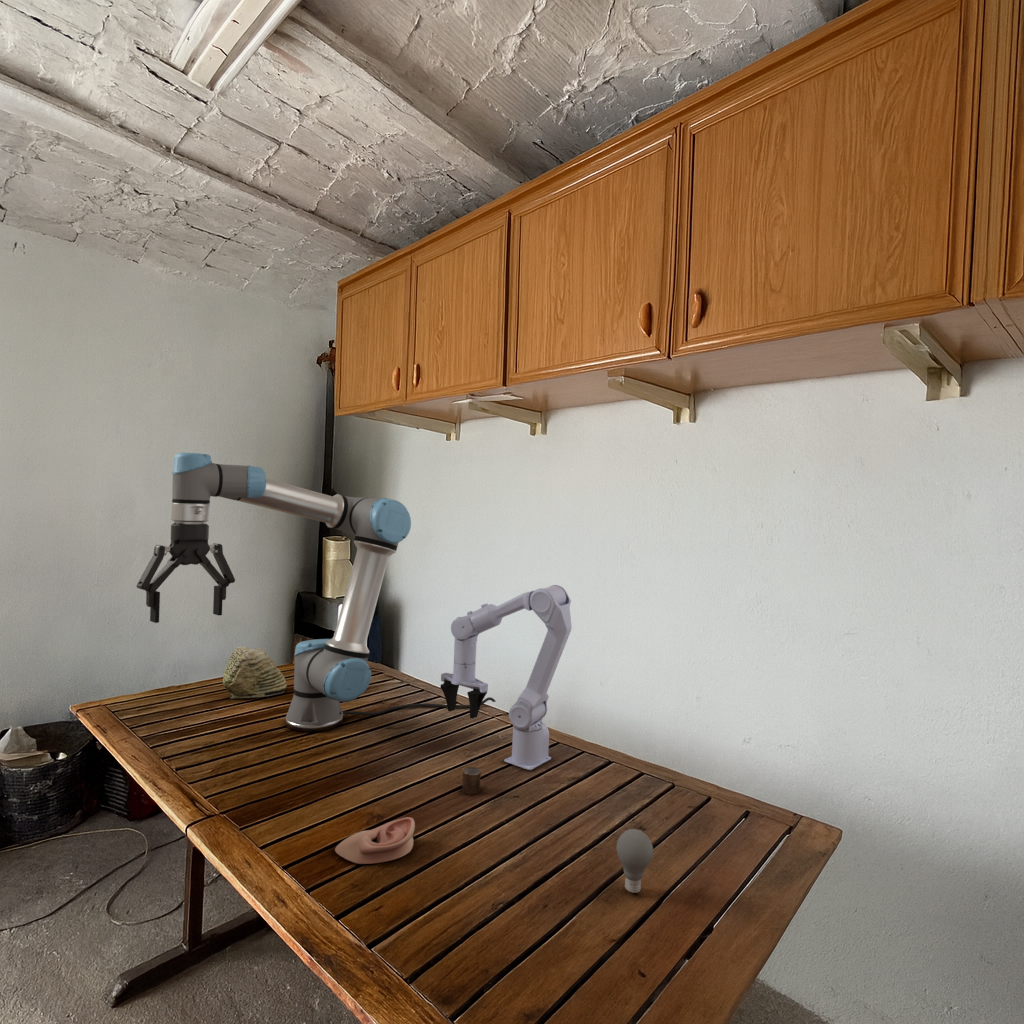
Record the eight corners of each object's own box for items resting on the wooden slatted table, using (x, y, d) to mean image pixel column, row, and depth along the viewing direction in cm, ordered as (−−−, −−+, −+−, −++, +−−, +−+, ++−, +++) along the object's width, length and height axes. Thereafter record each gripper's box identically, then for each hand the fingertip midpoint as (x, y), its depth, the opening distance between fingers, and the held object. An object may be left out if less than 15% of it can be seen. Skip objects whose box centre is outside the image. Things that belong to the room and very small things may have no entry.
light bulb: (610, 879, 108) (613, 822, 108) (644, 879, 109) (647, 822, 109) (619, 902, 102) (622, 840, 102) (655, 901, 103) (658, 840, 103)
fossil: (218, 695, 195) (220, 647, 195) (278, 685, 208) (279, 640, 207) (228, 703, 189) (230, 653, 188) (289, 692, 201) (290, 645, 201)
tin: (466, 785, 142) (467, 765, 142) (482, 788, 141) (483, 769, 141) (459, 792, 138) (460, 772, 138) (475, 796, 137) (476, 775, 137)
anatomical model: (327, 836, 111) (356, 806, 122) (326, 858, 111) (355, 826, 122) (398, 848, 108) (421, 815, 119) (397, 871, 108) (420, 836, 119)
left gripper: (135, 523, 128) (132, 628, 129) (252, 523, 148) (249, 614, 148) (121, 521, 133) (118, 622, 133) (236, 521, 152) (233, 609, 153)
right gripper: (433, 659, 166) (431, 710, 166) (476, 670, 157) (473, 724, 157) (452, 654, 172) (449, 704, 172) (493, 665, 163) (491, 717, 163)
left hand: (187, 618), depth 141 cm, fingers open, 13 cm apart
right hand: (462, 713), depth 165 cm, fingers open, 7 cm apart
